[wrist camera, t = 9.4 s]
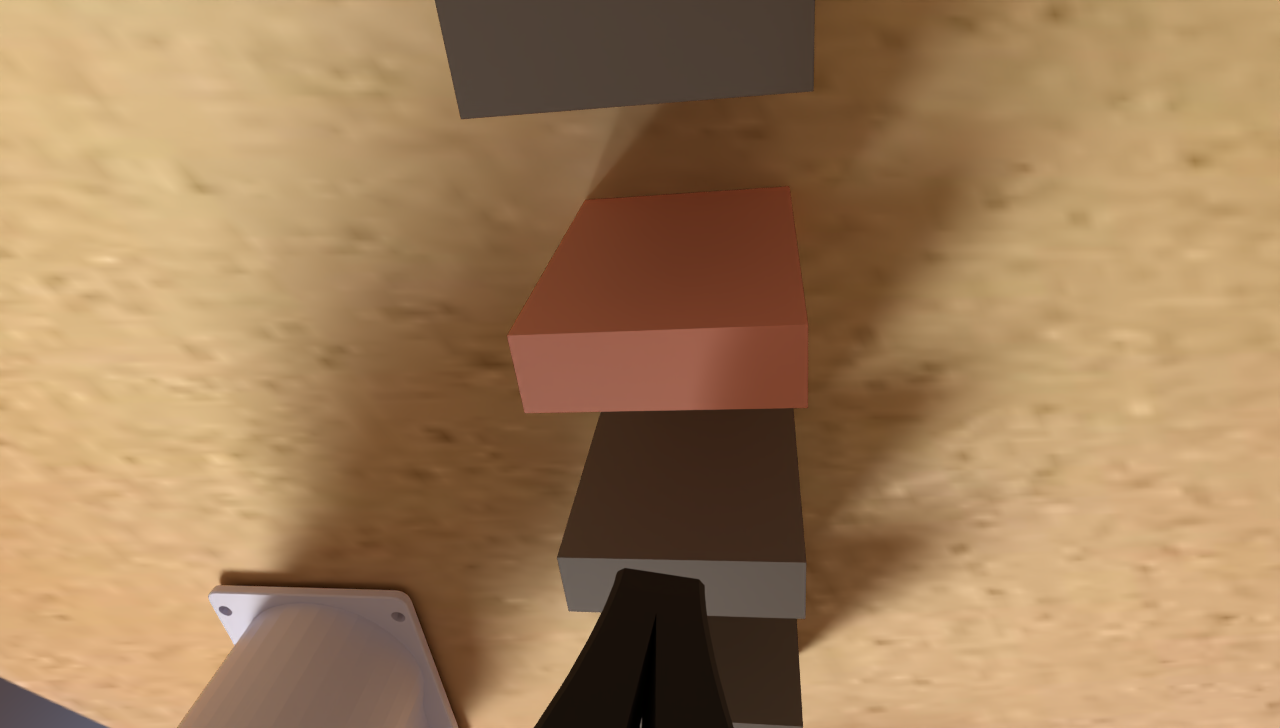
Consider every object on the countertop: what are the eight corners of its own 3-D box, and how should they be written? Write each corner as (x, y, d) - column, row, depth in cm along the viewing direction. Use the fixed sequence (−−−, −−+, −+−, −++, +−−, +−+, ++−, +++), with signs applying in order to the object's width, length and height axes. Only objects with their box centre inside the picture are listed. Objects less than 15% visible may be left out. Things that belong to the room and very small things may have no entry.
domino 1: (790, 23, 16) (813, 90, 10) (563, 45, 17) (461, 119, 11) (790, -62, 15) (815, -44, 9) (552, -35, 16) (433, -3, 10)
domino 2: (790, 248, 19) (808, 408, 13) (594, 259, 19) (524, 413, 13) (789, 186, 18) (808, 324, 12) (585, 200, 19) (506, 335, 13)
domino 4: (790, 553, 24) (802, 766, 18) (636, 550, 25) (599, 753, 19) (789, 516, 23) (802, 726, 17) (631, 514, 24) (590, 714, 18)
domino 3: (790, 420, 21) (805, 618, 15) (618, 422, 22) (568, 611, 16) (790, 373, 20) (806, 562, 14) (611, 376, 21) (557, 557, 15)
